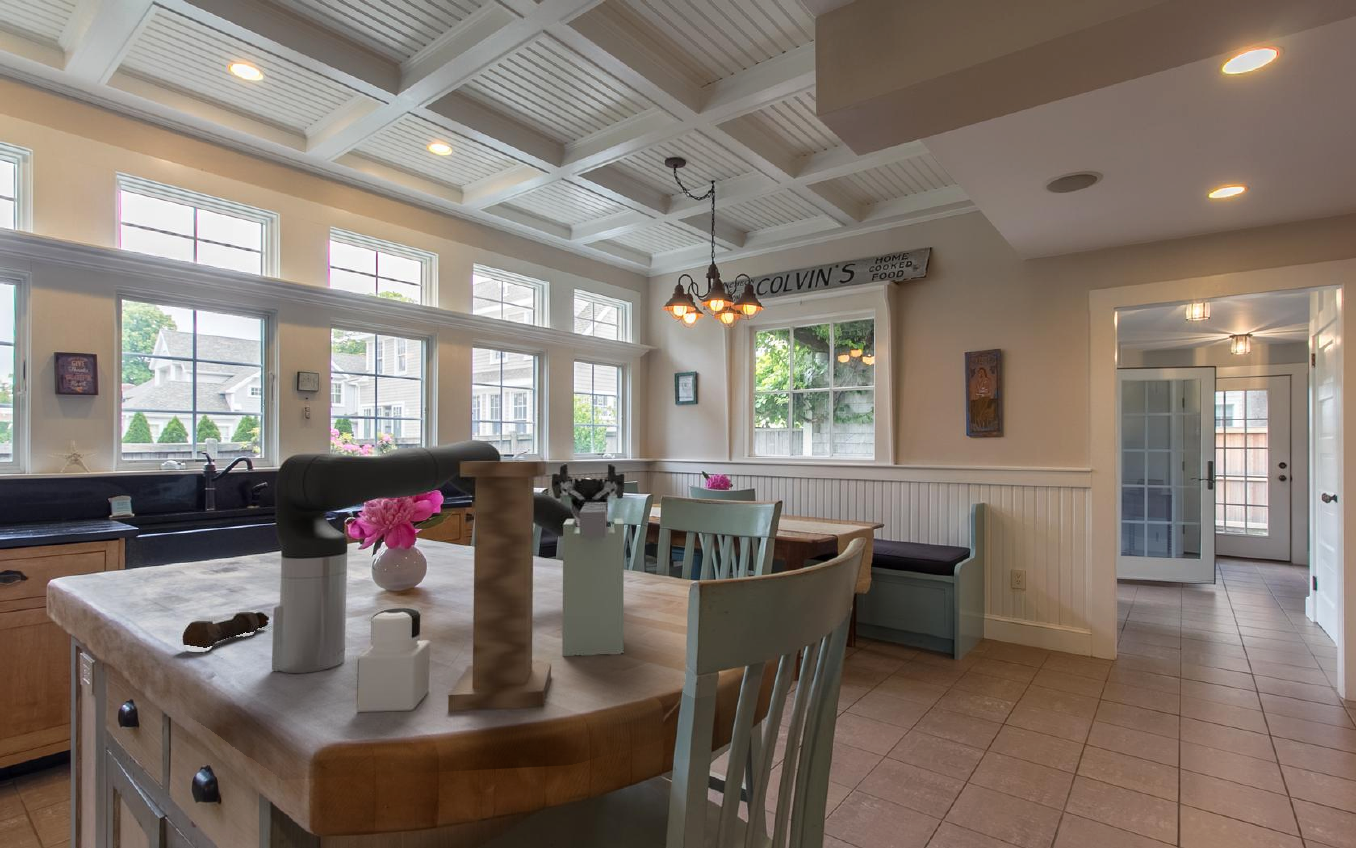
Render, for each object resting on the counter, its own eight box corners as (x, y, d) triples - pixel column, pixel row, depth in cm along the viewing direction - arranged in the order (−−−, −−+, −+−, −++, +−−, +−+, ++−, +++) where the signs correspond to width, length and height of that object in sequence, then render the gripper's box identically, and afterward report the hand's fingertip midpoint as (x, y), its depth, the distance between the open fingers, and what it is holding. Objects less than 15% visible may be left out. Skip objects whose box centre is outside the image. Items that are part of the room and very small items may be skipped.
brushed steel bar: (579, 538, 102) (579, 512, 102) (585, 523, 125) (585, 502, 126) (605, 537, 102) (605, 512, 102) (606, 523, 126) (606, 502, 126)
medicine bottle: (376, 693, 90) (378, 605, 91) (429, 691, 91) (431, 604, 92) (355, 713, 83) (358, 618, 84) (413, 711, 84) (415, 616, 84)
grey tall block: (562, 656, 107) (563, 524, 108) (566, 639, 117) (566, 518, 118) (623, 654, 108) (623, 523, 109) (622, 637, 118) (622, 518, 119)
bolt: (265, 640, 124) (198, 661, 109) (245, 626, 125) (176, 645, 110) (280, 613, 124) (215, 631, 110) (260, 599, 125) (193, 615, 110)
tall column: (448, 711, 84) (452, 461, 86) (467, 679, 96) (471, 461, 97) (543, 706, 85) (545, 461, 87) (550, 676, 97) (552, 461, 99)
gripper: (556, 490, 139) (551, 450, 126) (623, 490, 141) (624, 451, 127) (554, 522, 135) (548, 484, 122) (623, 522, 137) (624, 484, 123)
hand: (587, 467), depth 125 cm, fingers open, 8 cm apart
